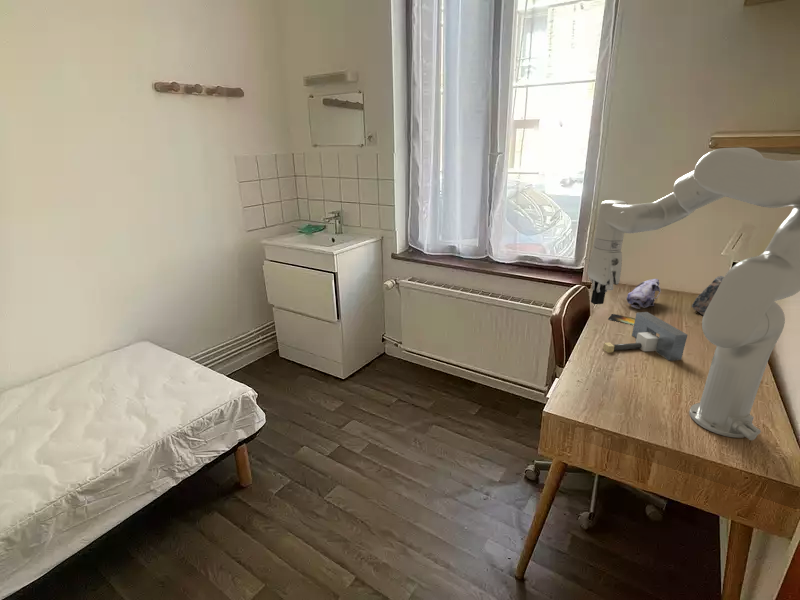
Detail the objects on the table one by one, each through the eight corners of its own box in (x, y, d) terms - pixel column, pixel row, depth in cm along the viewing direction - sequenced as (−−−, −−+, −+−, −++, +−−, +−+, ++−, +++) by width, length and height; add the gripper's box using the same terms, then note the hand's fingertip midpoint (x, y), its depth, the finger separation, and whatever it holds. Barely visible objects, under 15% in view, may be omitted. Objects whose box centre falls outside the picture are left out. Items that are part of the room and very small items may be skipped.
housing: (681, 359, 134) (687, 334, 131) (669, 360, 133) (675, 335, 130) (642, 334, 150) (647, 312, 147) (631, 335, 150) (636, 312, 147)
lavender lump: (666, 304, 177) (671, 281, 174) (645, 314, 168) (650, 290, 164) (641, 297, 185) (646, 275, 181) (620, 306, 175) (625, 283, 171)
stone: (693, 316, 166) (702, 279, 160) (683, 304, 177) (692, 269, 172) (733, 320, 162) (744, 282, 156) (721, 308, 174) (731, 272, 168)
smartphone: (611, 313, 168) (656, 322, 159) (611, 315, 168) (655, 324, 160) (607, 319, 162) (652, 329, 154) (607, 321, 163) (652, 330, 154)
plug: (656, 350, 140) (660, 337, 138) (609, 354, 137) (611, 341, 136) (647, 344, 144) (650, 331, 142) (601, 347, 142) (603, 335, 140)
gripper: (636, 250, 120) (623, 312, 127) (604, 237, 134) (594, 294, 140) (610, 251, 119) (599, 313, 126) (581, 238, 133) (572, 295, 139)
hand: (597, 303), depth 133 cm, fingers closed
